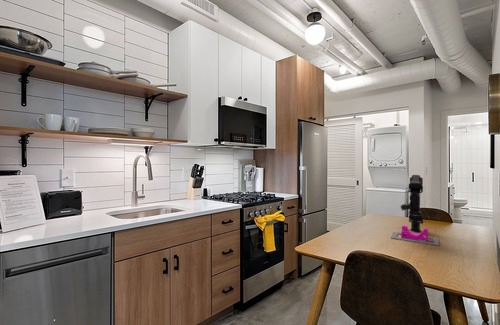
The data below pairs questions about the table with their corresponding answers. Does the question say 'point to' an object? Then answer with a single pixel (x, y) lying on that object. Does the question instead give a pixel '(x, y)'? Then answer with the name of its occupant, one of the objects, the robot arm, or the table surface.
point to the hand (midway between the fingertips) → (414, 223)
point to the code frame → (435, 240)
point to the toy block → (414, 234)
